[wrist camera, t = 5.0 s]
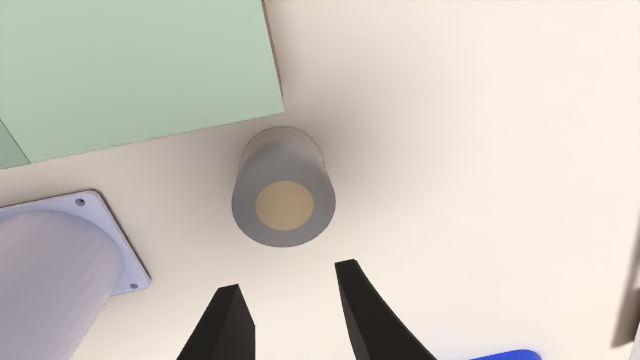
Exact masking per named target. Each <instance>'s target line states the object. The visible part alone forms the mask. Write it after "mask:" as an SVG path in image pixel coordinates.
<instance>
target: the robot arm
mask: <svg viewBox="0 0 640 360" xmlns="http://www.w3.org/2000/svg"><path fill="white" fill-rule="evenodd" d="M79 199H82V200H84V201H85V203H83V202H81V201H80V200H79ZM335 269H336V274H337V280H338V285H339V291H340V296H341V302H342V307H343V312H344V316H345V320H346V325H347V329H348V334H349V338H350V341H351V345H352V348H353V351H354V354H355V357H356V360H437V359H436V358H435V357H434V356H433V355H432V354H431V353H430V352H429V351H428V350H427V349H426V348H425V347H424V346H423V345H422V344H421V343H420V342H419V341H418V339H417V338H416V337H415V336H414V335H413V334H412V333H411V332H410V331H409V330H408V329H407V327H406V326H405V325H404V324H403V323H402V322H401V321H400V319H399V318H398V317H397V316H396V315H395V313H394V312H393V311H392V310H391V309H390V307H389V306H388V305H387V304H386V302H385V301H384V300H383V299H382V297H381V296H380V295H379V294H378V292H377V291H376V290H375V288H374V287H373V285H372V284H371V283H370V281H369V280H368V278H367V277H366V275H365V274H364V272H363V271H362V269H361V267H360V266H359V264H358V262H357V261H356V260H354V259H351V260H346V261H341V262H337V263H335ZM150 282H151V281H150V278H149V277H148V275H147V273H146V272H145V270H144V268H143V267H142V265H141V263H140V262H139V260H138V258H137V257H136V255H135V253H134V252H133V250H132V248H131V247H130V245H129V243H128V242H127V240H126V238H125V236H124V235H123V233H122V231H121V230H120V228H119V226H118V225H117V223H116V221H115V220H114V218H113V216H112V215H111V213H110V211H109V210H108V208H107V206H106V205H105V203H104V201H103V200H102V198H101V196H100V195H99V194H98V193H97V192H95V191H91V190H89V191H83V192H78V193H73V194H68V195H63V196H58V197H53V198H48V199H43V200H38V201H33V202H28V203H23V204H18V205H13V206H8V207H3V208H0V360H70V359H71V357H72V355H73V354H74V352H75V351H76V349H77V347H78V346H79V344H80V342H81V341H82V339H83V338H84V336H85V334H86V333H87V331H88V330H89V328H90V326H91V325H92V323H93V322H94V320H95V318H96V317H97V315H98V313H99V312H100V310H101V309H102V307H103V305H104V304H105V302H106V301H107V299H108V297H110V296H114V295H119V294H124V293H128V292H133V291H137V290H142V289H146V288H147V287H148V286H149V284H150ZM133 283H135V284H133ZM136 284H137V285H136ZM176 360H255V325H254V322H253V320H252V317H251V315H250V312H249V310H248V307H247V305H246V303H245V300H244V298H243V295H242V293H241V290H240V288H239V285H238V284H235V285H230V286H226V287H221V288H218V289H217V291H216V292H215V294H214V296H213V298H212V299H211V301H210V303H209V305H208V307H207V308H206V310H205V312H204V314H203V315H202V317H201V319H200V321H199V322H198V324H197V326H196V328H195V329H194V331H193V333H192V334H191V336H190V338H189V339H188V341H187V343H186V344H185V346H184V348H183V349H182V351H181V353H180V354H179V356H178V358H177V359H176Z"/></svg>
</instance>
